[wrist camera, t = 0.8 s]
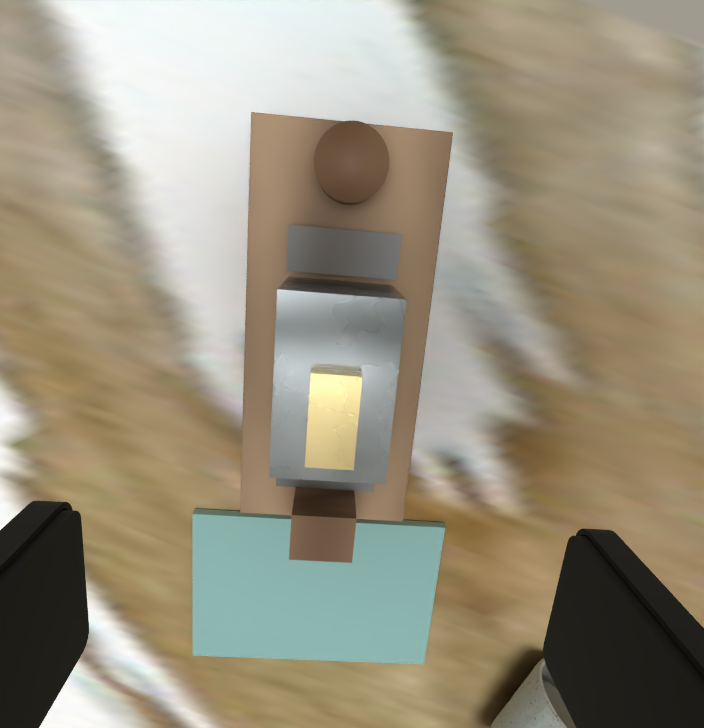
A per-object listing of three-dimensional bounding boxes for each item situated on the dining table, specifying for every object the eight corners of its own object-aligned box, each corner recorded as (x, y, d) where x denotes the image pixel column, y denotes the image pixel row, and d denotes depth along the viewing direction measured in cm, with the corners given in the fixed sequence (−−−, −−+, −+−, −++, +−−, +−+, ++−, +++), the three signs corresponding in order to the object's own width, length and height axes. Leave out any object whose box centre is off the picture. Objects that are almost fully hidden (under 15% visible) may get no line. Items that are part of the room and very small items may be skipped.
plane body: (435, 146, 26) (477, 112, 18) (394, 485, 31) (413, 569, 24) (263, 129, 25) (233, 87, 18) (251, 476, 31) (224, 560, 23)
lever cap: (392, 284, 24) (409, 303, 18) (376, 436, 26) (387, 494, 20) (288, 276, 24) (275, 292, 18) (281, 430, 26) (266, 487, 20)
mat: (443, 522, 32) (445, 527, 32) (422, 657, 35) (423, 664, 35) (195, 508, 31) (192, 513, 31) (195, 648, 34) (192, 655, 34)
